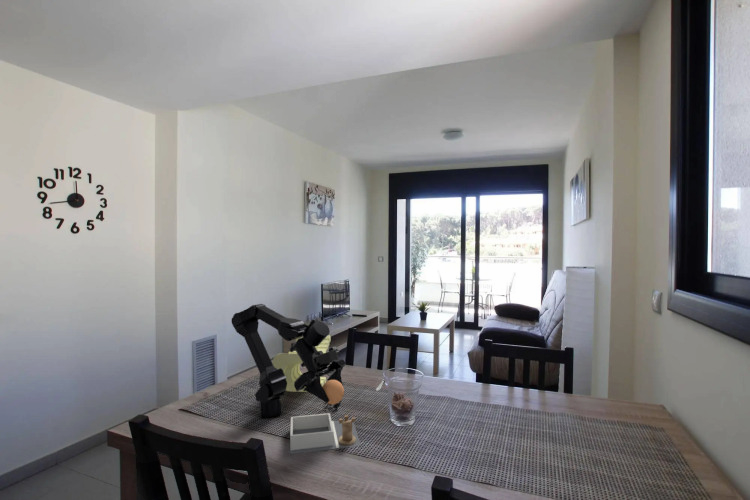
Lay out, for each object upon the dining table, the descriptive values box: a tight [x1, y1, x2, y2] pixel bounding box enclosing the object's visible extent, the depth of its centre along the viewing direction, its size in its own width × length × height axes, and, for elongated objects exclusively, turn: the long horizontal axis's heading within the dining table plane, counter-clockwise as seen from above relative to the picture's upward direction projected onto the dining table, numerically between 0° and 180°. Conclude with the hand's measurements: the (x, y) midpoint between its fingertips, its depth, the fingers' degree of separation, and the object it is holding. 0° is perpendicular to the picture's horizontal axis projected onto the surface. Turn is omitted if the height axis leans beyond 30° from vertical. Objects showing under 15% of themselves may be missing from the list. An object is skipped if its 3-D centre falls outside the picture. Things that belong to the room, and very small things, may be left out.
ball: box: [322, 380, 345, 405], centre depth 112 cm, size 7×7×7 cm
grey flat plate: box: [289, 418, 362, 455], centre depth 113 cm, size 20×17×1 cm
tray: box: [289, 412, 334, 451], centre depth 111 cm, size 12×12×4 cm
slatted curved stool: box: [272, 334, 332, 393], centre depth 155 cm, size 30×16×18 cm, turn 174°
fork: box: [375, 380, 385, 391], centre depth 158 cm, size 3×24×2 cm, turn 163°
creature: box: [322, 400, 342, 411], centre depth 133 cm, size 8×5×8 cm
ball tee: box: [338, 414, 356, 445], centre depth 109 cm, size 5×5×7 cm
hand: (335, 397), depth 111 cm, fingers closed on ball, 7 cm apart
